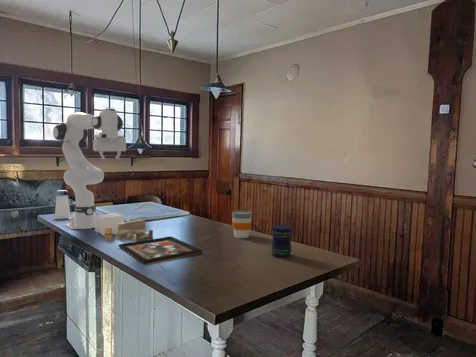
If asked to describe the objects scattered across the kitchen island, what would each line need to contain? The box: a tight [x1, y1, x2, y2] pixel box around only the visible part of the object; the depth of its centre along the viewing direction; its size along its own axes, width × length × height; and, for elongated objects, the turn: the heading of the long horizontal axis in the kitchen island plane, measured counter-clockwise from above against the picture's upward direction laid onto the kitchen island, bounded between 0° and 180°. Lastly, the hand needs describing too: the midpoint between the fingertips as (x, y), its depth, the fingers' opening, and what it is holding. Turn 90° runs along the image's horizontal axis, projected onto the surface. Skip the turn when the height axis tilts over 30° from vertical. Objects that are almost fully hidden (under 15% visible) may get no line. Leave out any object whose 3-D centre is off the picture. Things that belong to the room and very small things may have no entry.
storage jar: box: [271, 224, 293, 259], centre depth 182 cm, size 10×10×15 cm
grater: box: [54, 189, 72, 220], centre depth 265 cm, size 10×10×20 cm
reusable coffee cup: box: [231, 209, 253, 239], centre depth 219 cm, size 13×13×15 cm
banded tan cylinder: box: [104, 227, 114, 241], centre depth 207 cm, size 4×4×7 cm
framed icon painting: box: [118, 236, 203, 265], centre depth 188 cm, size 38×35×3 cm
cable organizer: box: [94, 213, 125, 237], centre depth 220 cm, size 15×11×12 cm
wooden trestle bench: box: [117, 218, 154, 242], centre depth 210 cm, size 14×18×9 cm
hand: (110, 159), depth 213 cm, fingers open, 8 cm apart
